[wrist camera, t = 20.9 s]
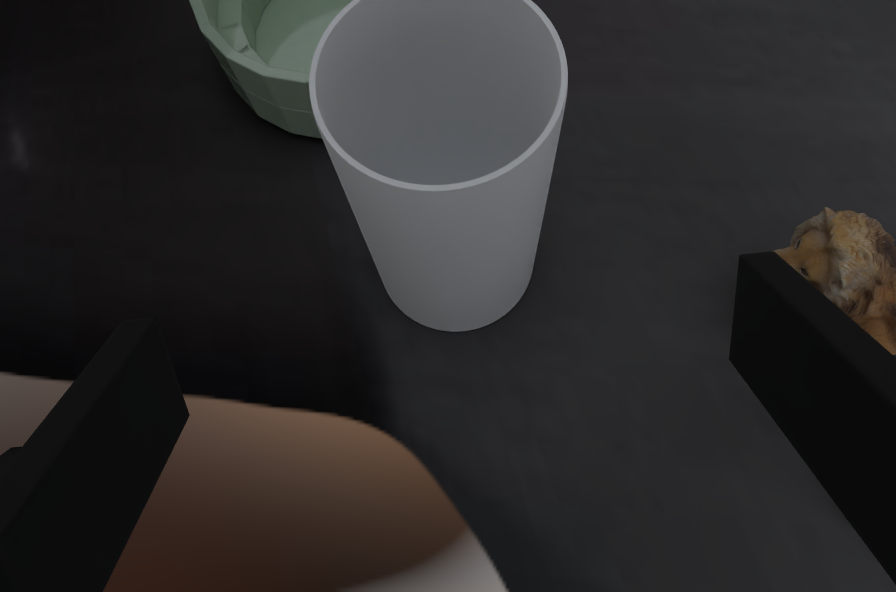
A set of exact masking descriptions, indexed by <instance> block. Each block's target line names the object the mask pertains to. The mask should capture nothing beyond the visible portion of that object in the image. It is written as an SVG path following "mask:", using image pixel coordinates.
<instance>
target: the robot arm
mask: <svg viewBox="0 0 896 592" xmlns="http://www.w3.org/2000/svg"><path fill="white" fill-rule="evenodd" d="M729 360H730V361H731V363H732V364H733V365H734V367H735V368H736V369H737V371H738V372H739V373H740V375H741V376H742V378H743V379H744V380H745V382H746V383H747V384H748V386H749V387H750V388H751V390H752V391H753V392H754V394H755V395H756V396H757V398H758V399H759V401H760V402H761V403H762V405H763V406H764V407H765V409H766V410H767V411H768V413H769V414H770V415H771V417H772V418H773V419H774V421H775V422H776V424H777V425H778V426H779V428H780V429H781V430H782V432H783V433H784V434H785V436H786V437H787V438H788V440H789V441H790V442H791V444H792V445H793V447H794V448H795V449H796V451H797V452H798V453H799V455H800V456H801V457H802V459H803V460H804V461H805V463H806V464H807V465H808V467H809V468H810V470H811V471H812V472H813V474H814V475H815V476H816V478H817V479H818V480H819V482H820V483H821V484H822V486H823V487H824V488H825V490H826V491H827V493H828V494H829V495H830V497H831V498H832V499H833V501H834V502H835V503H836V505H837V506H838V507H839V509H840V510H841V511H842V513H843V514H844V516H845V517H846V518H847V520H848V521H849V522H850V524H851V525H852V526H853V528H854V529H855V530H856V532H857V533H858V534H859V536H860V537H861V538H862V540H863V541H864V543H865V544H866V545H867V547H868V548H869V549H870V551H871V552H872V553H873V555H874V556H875V557H876V559H877V560H878V561H879V563H880V564H881V566H882V567H883V568H884V570H885V571H886V572H887V574H888V575H889V576H890V578H891V579H892V580H893V582H894V583H895V584H896V354H895V355H892V354H891V353H890V352H889V351H888V350H887V349H886V348H884V347H883V346H882V345H881V344H880V343H879V342H878V341H876V340H875V339H874V338H873V337H872V336H871V335H870V334H868V333H867V332H866V331H865V330H864V329H863V328H861V327H860V326H859V325H858V324H857V323H856V322H855V321H853V320H852V319H851V318H850V317H849V316H848V315H847V314H845V313H844V312H843V311H842V310H841V309H840V308H839V307H837V306H836V305H835V304H834V303H833V302H832V301H831V300H829V299H828V298H827V297H826V296H825V295H824V294H823V293H821V292H820V291H819V290H818V289H817V288H816V287H814V286H813V285H812V284H811V283H810V282H809V281H808V280H806V279H805V278H804V277H803V276H802V275H801V274H800V273H798V272H797V271H796V270H795V269H794V268H793V267H792V266H790V265H789V264H788V263H787V262H786V261H785V260H784V259H782V258H781V257H780V256H779V255H778V254H777V253H776V252H774V251H772V252H762V253H753V254H743V255H740V256H739V266H738V276H737V286H736V296H735V306H734V316H733V326H732V336H731V346H730V356H729ZM188 417H189V412H188V409H187V406H186V403H185V400H184V397H183V394H182V391H181V388H180V385H179V382H178V380H177V377H176V374H175V371H174V368H173V365H172V362H171V359H170V356H169V353H168V350H167V347H166V344H165V341H164V338H163V335H162V332H161V329H160V326H159V323H158V320H157V317H149V318H139V319H130V320H123V321H122V322H121V323H120V324H119V326H118V327H117V328H116V330H115V331H114V332H113V333H112V335H111V336H110V337H109V338H108V340H107V341H106V342H105V343H104V345H103V346H102V347H101V348H100V350H99V351H98V352H97V353H96V355H95V356H94V357H93V358H92V360H91V361H90V362H89V364H88V365H87V366H86V367H85V369H84V370H83V371H82V372H81V374H80V375H79V376H78V377H77V379H76V380H75V381H74V382H73V384H72V385H71V386H70V387H69V389H68V390H67V391H66V392H65V394H64V395H63V396H62V398H61V399H60V400H59V401H58V403H57V404H56V405H55V406H54V408H53V409H52V410H51V411H50V413H49V414H48V415H47V416H46V418H45V419H44V420H43V422H42V423H41V424H40V425H39V427H38V428H37V429H36V430H35V432H34V433H33V434H32V435H31V437H30V438H29V439H28V440H27V442H26V443H25V444H24V445H23V447H13V448H10V449H9V450H7V451H6V452H5V453H3V454H2V455H1V456H0V592H103V590H104V588H105V586H106V584H107V582H108V580H109V578H110V576H111V574H112V572H113V570H114V568H115V566H116V563H117V561H118V560H119V557H120V556H121V554H122V551H123V549H124V547H125V545H126V543H127V541H128V539H129V537H130V535H131V533H132V531H133V529H134V527H135V525H136V523H137V521H138V519H139V517H140V515H141V513H142V511H143V509H144V507H145V505H146V503H147V501H148V499H149V497H150V495H151V493H152V491H153V489H154V487H155V485H156V482H157V480H158V478H159V476H160V474H161V472H162V470H163V468H164V466H165V464H166V462H167V460H168V458H169V456H170V454H171V452H172V450H173V448H174V446H175V444H176V442H177V440H178V438H179V436H180V434H181V432H182V430H183V428H184V426H185V424H186V422H187V419H188Z"/></svg>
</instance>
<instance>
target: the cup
mask: <svg viewBox="0 0 896 592" xmlns="http://www.w3.org/2000/svg"><path fill="white" fill-rule="evenodd" d="M567 86H568V71H567V61H566V56H565V52H564V49H563V46H562V43H561V40H560V38H559V36H558V34H557V31H556V30H555V28H554V26H553V25H552V23H551V22H550V20H549V19H548V18H547V16H546V15H545V14H544V12H543V11H542V10H541V9H540V8H539V7H538V6H537V5H536V4H535V3H534V2H532V1H531V0H353V1H351V2H350V3H349V4H348V5H347V6H346V7H344V8H343V9H342V11H341V12H340V13H339V14H338V15H337V16H336V17H335V18H334V19H333V21H332V22H331V23H330V24H329V26H328V27H327V29H326V30H325V32H324V34H323V35H322V37H321V39H320V41H319V43H318V45H317V48H316V50H315V53H314V56H313V60H312V64H311V69H310V77H309V91H310V100H311V105H312V110H313V115H314V118H315V121H316V124H317V127H318V129H319V132H320V134H321V137H322V139H323V141H324V144H325V146H326V149H327V151H328V153H329V156H330V158H331V161H332V163H333V165H334V168H335V170H336V173H337V175H338V177H339V180H340V182H341V184H342V187H343V189H344V192H345V194H346V196H347V199H348V201H349V203H350V206H351V208H352V211H353V213H354V215H355V218H356V220H357V222H358V225H359V227H360V230H361V232H362V234H363V237H364V239H365V241H366V244H367V246H368V249H369V251H370V253H371V256H372V258H373V260H374V263H375V265H376V268H377V270H378V272H379V275H380V277H381V279H382V282H383V284H384V286H385V289H386V291H387V293H388V294H389V296H390V298H391V299H392V301H393V302H394V303H395V304H396V306H397V307H398V308H399V309H400V310H401V311H402V312H403V313H404V314H406V315H407V316H408V317H410V318H411V319H413V320H414V321H416V322H418V323H420V324H422V325H424V326H427V327H430V328H433V329H437V330H442V331H452V332H459V331H469V330H474V329H478V328H481V327H484V326H486V325H489V324H491V323H493V322H495V321H496V320H498V319H500V318H501V317H503V316H504V315H505V314H507V313H508V312H509V311H510V310H511V309H512V308H513V307H514V306H515V305H516V304H517V302H518V301H519V300H520V299H521V297H522V295H523V294H524V292H525V290H526V288H527V286H528V284H529V281H530V278H531V274H532V270H533V265H534V260H535V255H536V250H537V245H538V240H539V235H540V230H541V225H542V220H543V215H544V210H545V205H546V200H547V195H548V190H549V185H550V180H551V175H552V170H553V165H554V160H555V155H556V150H557V145H558V140H559V135H560V130H561V124H562V119H563V114H564V109H565V104H566V98H567Z"/></svg>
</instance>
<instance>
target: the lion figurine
mask: <svg viewBox="0 0 896 592" xmlns="http://www.w3.org/2000/svg"><path fill="white" fill-rule="evenodd" d="M893 243H894V239H893V237H892V235H890V234H889V233H887V232H886V231H885V230H884V229H883V227H882V225H881V224H880V223H879V222H878V221H877V220H875V219H872V218H869V217H867V215H866V214H864V213H860V214H857V213H856V212H854V211H851V210H847V211H839V212H834V211H833V210H831V209H830V208H826V207H825V208H824V210H823V211H821V212H820V213H819V214H818V215H817V216H814V217H812V218H810V219H808V220H806V221H805V222H804V223H802V224H800V225H799V226H797V227H796V228H795V232H794V234H793V237H792V238H791V241H790V246H789V247H787V248H784V249H777V250H774V252H776V253H777V254H778V255H779V256H780V257H781V258H782V259H784V260H785V261H786V262H787V263H788V264H789V265H790V266H792V267H793V268H794V269H795V270H796V271H797V272H798V273H800V274H801V275H802V276H803V277H804V278H805V279H806V280H808V281H809V282H810V283H811V284H812V285H813V286H814V287H816V288H817V289H818V290H819V291H820V292H821V293H823V294H824V295H825V296H826V297H827V298H828V299H829V300H831V301H832V302H833V303H834V304H835V305H836V306H837V307H839V308H840V309H841V310H842V311H843V312H844V313H845V314H847V315H848V316H849V317H850V318H851V319H852V320H853V321H855V322H856V323H857V324H858V325H859V326H860V327H861V328H863V329H864V330H865V331H866V332H867V333H868V334H870V335H871V336H872V337H873V338H874V339H875V340H876V341H878V342H879V343H880V344H881V345H882V346H883V347H884V348H886V349H887V350H888V351H889V352H890V353H891V354H892V355H895V354H896V247H895V246H894V245H893Z"/></svg>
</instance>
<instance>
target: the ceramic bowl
mask: <svg viewBox="0 0 896 592" xmlns="http://www.w3.org/2000/svg"><path fill="white" fill-rule="evenodd" d="M351 1H353V0H189V2H190V4H191V7H192V10H193V12H194V15H195V17H196V20H197V23H198V25H199V28H200V30H201V32H202V34H203V35H204V37H205V39H206V41H207V42H208V44H209V46H210V47H211V49H212V51H213V53H214V54H215V56H216V58H217V60H218V61H219V63H220V65H221V66H222V68H223V70H224V72H225V73H226V75H227V77H228V79H229V80H230V82H231V84H232V85H233V87H234V89H235V91H236V92H237V93H238V94H239V96H240V97H241V98H242V99H243V100H244V101H245V102H246V103H247V104H248V105H249V106H250V107H251V109H252V110H253V111H254V112H255V113H256V114H257V115H258V116H260V117H261V118H263V119H265V120H267V121H269V122H271V123H272V124H274V125H276V126H278V127H280V128H282V129H284V130H286V131H288V132H290V133H293V134H298V135H304V136H310V137H315V138H321V139H322V137H321V134H320V132H319V129H318V127H317V124H316V121H315V118H314V115H313V110H312V105H311V100H310V91H309V77H310V69H311V64H312V60H313V56H314V53H315V50H316V48H317V45H318V43H319V41H320V39H321V37H322V35H323V34H324V32H325V30H326V29H327V27H328V26H329V24H330V23H331V22H332V21H333V19H334V18H335V17H336V16H337V15H338V14H339V13H340V12H341V11H342V9H343V8H344V7H346V6H347V5H348V4H349V3H350V2H351Z"/></svg>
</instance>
